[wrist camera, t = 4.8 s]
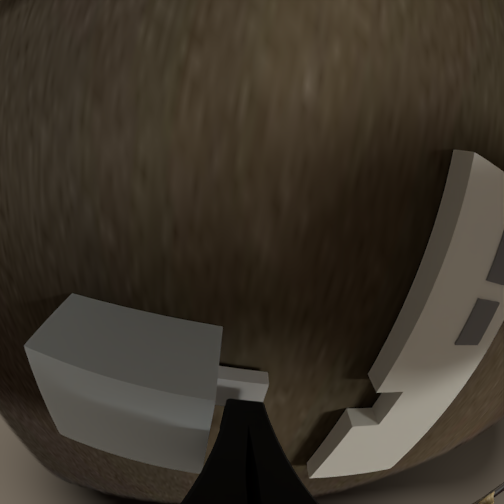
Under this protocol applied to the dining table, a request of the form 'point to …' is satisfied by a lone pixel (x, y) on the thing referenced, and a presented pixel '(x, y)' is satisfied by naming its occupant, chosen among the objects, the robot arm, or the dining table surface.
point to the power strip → (431, 327)
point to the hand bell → (487, 499)
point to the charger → (135, 380)
